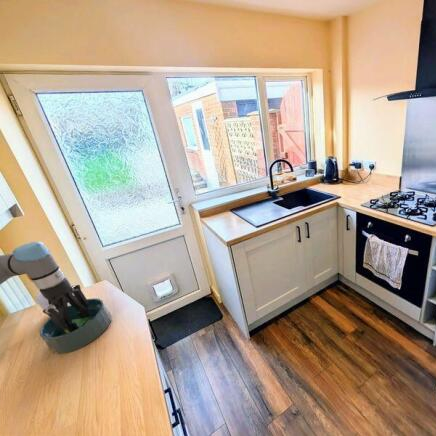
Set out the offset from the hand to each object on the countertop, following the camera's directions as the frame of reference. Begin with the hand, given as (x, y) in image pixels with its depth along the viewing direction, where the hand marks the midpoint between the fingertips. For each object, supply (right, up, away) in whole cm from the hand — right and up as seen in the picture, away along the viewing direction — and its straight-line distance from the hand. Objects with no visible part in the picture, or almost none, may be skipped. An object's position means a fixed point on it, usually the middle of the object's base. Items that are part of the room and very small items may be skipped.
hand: (84, 329), depth 96 cm
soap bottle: (-21, +2, +13) cm, 25 cm away
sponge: (-1, 0, 0) cm, 1 cm away
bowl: (-1, -1, 0) cm, 1 cm away
